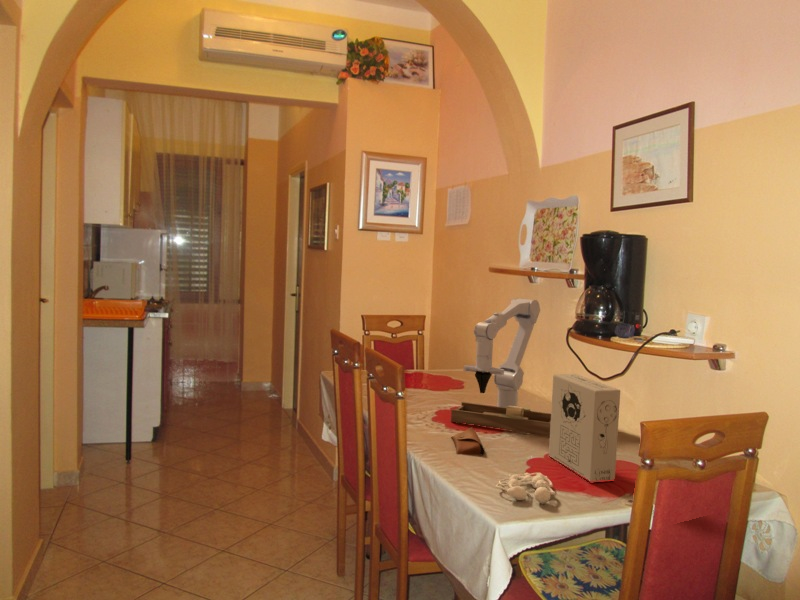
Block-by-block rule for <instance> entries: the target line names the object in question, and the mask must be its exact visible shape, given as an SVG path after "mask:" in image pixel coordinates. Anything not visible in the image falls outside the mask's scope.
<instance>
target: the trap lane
mask: <svg viewBox="0 0 800 600" xmlns="http://www.w3.org/2000/svg"><path fill="white" fill-rule="evenodd" d="M508 407H509V406H508ZM508 407H507V408H508ZM507 408H504V407H497V406H495V405H488V404H482V403H481V404H480V403H472V402H466V401H465V402H464V401H462V402H461V405H460V406H458V407H457V408H456V409H451V414H450V415H451V417H450V423H452V422H457V423H456V424H459V423H466V424H474V425H480V426H486V427H493V428H500V429H506V430H505V431H507V430H512V431H511V432H513V431H517V432H516V433H520V432H522V434H527V433H529V434H528V435H534V436H543V437H549V438H550V427H551V413H549V412H541V411H535V410H534V411H533V410H531V408H526V407H525V408H524V411H523V417H519V416H512V415H506V409H507ZM486 427H485V428H486ZM493 428H492V429H493ZM500 429H499V430H500Z"/></svg>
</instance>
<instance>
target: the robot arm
mask: <svg viewBox="0 0 800 600" xmlns="http://www.w3.org/2000/svg"><path fill="white" fill-rule="evenodd" d="M540 312H541V306H540V303H539V301H538V300H537V299H528V298H527V299H526V298H525V299H524V298H519V297H515V298H513V299H512V300H511V301H510V304H509V305H508V306H507V307H506V308H505V309H504V310H502V311H501V312H494V313H493V314H492V315H491V316H490V317H488V318H486V319H485V320H484V321H479V322H477V323H476V324H475V326H474V329H473V335H474V336H475V337H474V338H475V342H476V353H475V354H476V357H475V365H467V364H465V365H463V372H472V373H473V372H474V373H475V374H474V376H475V379H476V381H477V384H478V389H479V394H486V390H487V386H488V383H489V381H490V379H491V377H492V375H493V382H494V384H495V385H496V388H497V401H496V402H497V404H496V405H497V407H504V408H507V407H508V406H517V407H518V406H519V405H518V402H519V393H518V392H519V391H518V390H519V389H520V388H521V386H522V385H523V380H524V374H525V371H524V370H523V368H522V367H521V364H522V361H523V358H524V356H525V352H526V349H527V347H528V344H529V341H530V338H531V335H532V333H533V330H534V327H535V324H536V323H537V320H538V318H539V315H540ZM513 317H514V318H515V321H516V322H517V323H518V324H519V325H518V328H517V330H516V333H515V336H514V339H513V342H512V344H511V348H510V350H509V353H508V355H507V359H506V361H505V362H503V363H500V364H499V366H498V367H493V352H494V351H493V348H494V339H495V338H496V337H497V334H498V333H499V331H500V330H501V329H503V328H504V327H505V326H507V324H508V321H509V320H510V319H513Z"/></svg>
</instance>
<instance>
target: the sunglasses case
mask: <svg viewBox="0 0 800 600" xmlns="http://www.w3.org/2000/svg"><path fill="white" fill-rule="evenodd" d="M450 438H451V440H452V442H453V445H454V447H455V451H456V455H466V456H467V455H469V456H471V455H473V456H484V454H485V448H484V446H483V444H482V442H481V439H480V437H479V436H478V433H477V432H476V431H475V429H474V427H473V426H472V427H471V426H470V427H469V428H467V429H465V430H464V431H462V432H460V433H457V434H455V435H451V436H450Z"/></svg>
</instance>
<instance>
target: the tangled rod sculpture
mask: <svg viewBox="0 0 800 600" xmlns="http://www.w3.org/2000/svg"><path fill="white" fill-rule="evenodd" d="M523 485H532V487H533V489H535V491H534V496H533V495H532V494H531V493H530V492H529V491H527V490H526V489H525V488H524V487H523ZM506 487H508V488H506ZM553 487H554V486H553V482H552V481H551V480H550V479H549V477H548V476H547V475H544V474H543V473H541V472H533V473H530V472H525V473H520V474H519V473H515V474H513V473H512V474H511V473H509V474H508V477H506V478H503V479H500V480H498V483H497V484H496V485H495V488H497V489H500V490H503V491H506V494H507V495H508V496H509V497H511V498H513V499H515V500H517V501H524V500H525V499H526V498H527V496H529V498H535V500H536V501H537V503H539V504H546V503H548V502H549V501H550V500H551V495H552V496H556V494H557V493H556V491H554V490H553V489H552V488H553Z"/></svg>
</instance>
